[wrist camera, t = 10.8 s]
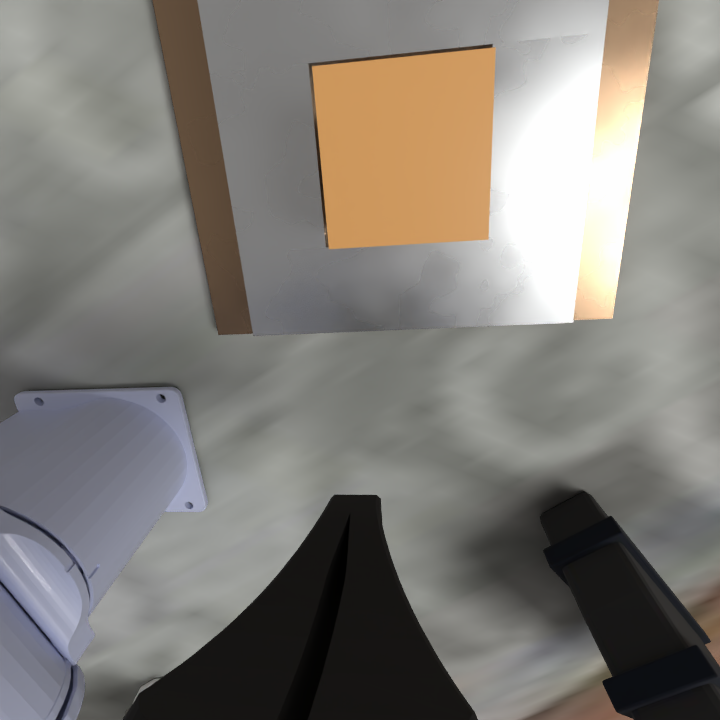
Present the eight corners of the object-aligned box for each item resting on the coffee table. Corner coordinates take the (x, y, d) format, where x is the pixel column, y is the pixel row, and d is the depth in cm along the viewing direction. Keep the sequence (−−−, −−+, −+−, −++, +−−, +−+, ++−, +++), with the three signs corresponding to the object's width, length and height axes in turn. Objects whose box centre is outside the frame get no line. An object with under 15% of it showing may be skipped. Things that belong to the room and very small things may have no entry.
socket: (226, 328, 22) (185, 362, 18) (160, -19, 17) (82, -85, 13) (602, 312, 20) (655, 345, 16) (656, -82, 15) (754, -184, 11)
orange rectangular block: (356, 223, 19) (328, 249, 11) (349, 117, 17) (312, 66, 10) (451, 217, 18) (488, 239, 11) (452, 108, 17) (495, 47, 9)
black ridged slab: (571, 462, 21) (927, 984, 10) (634, 532, 29) (871, 866, 18) (505, 499, 22) (762, 1006, 11) (583, 557, 30) (778, 886, 19)
